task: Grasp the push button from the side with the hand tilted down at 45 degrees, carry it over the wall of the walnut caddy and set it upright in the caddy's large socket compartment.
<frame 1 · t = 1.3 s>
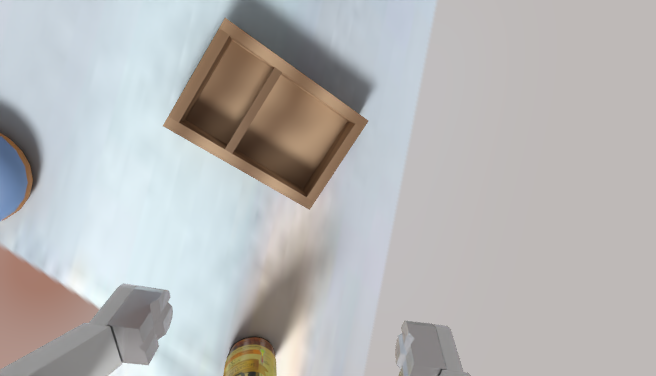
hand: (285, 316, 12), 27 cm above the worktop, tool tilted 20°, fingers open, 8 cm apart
caddy: (270, 119, 36), on the worktop
sauce bottle: (250, 353, 44), on the worktop
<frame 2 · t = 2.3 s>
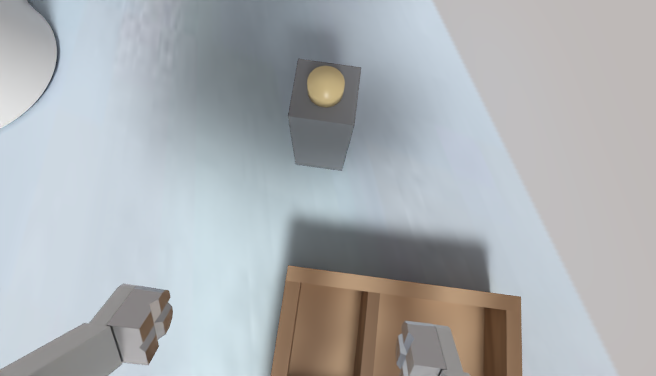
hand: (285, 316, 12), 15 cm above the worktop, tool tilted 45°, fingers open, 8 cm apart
caddy: (385, 355, 25), on the worktop
push button: (321, 145, 29), on the worktop
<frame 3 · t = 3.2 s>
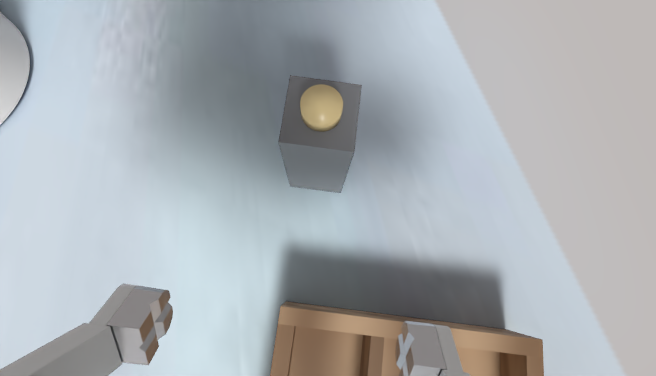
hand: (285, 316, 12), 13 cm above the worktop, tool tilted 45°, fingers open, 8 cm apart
push button: (318, 165, 27), on the worktop
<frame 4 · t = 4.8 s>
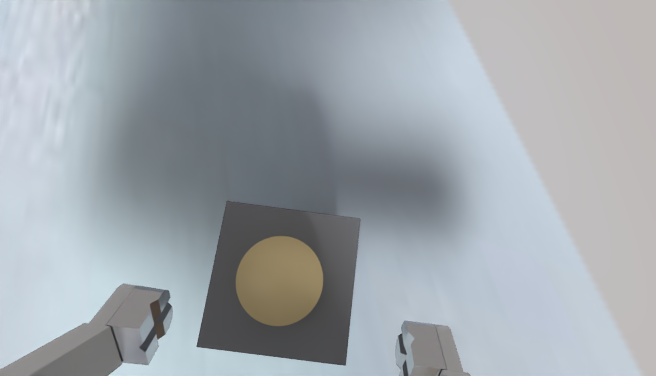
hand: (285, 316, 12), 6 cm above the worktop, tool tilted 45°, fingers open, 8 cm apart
push button: (297, 276, 18), on the worktop
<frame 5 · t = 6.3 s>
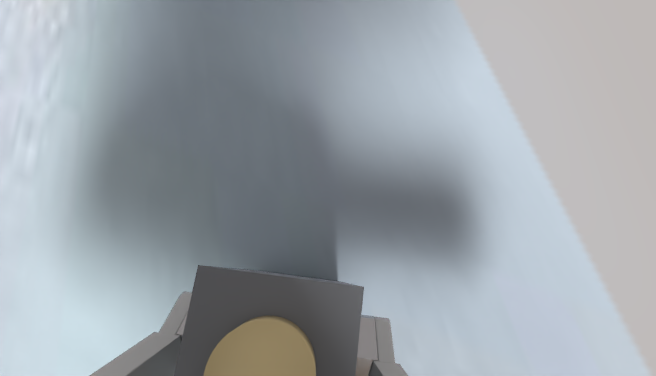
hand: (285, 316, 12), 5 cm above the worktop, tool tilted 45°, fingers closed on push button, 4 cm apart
push button: (292, 318, 16), on the worktop, touching gripper
when the fingers open (7 cm above the worktop, at t = 13.8 s): push button drops 1 cm, resting on caddy.
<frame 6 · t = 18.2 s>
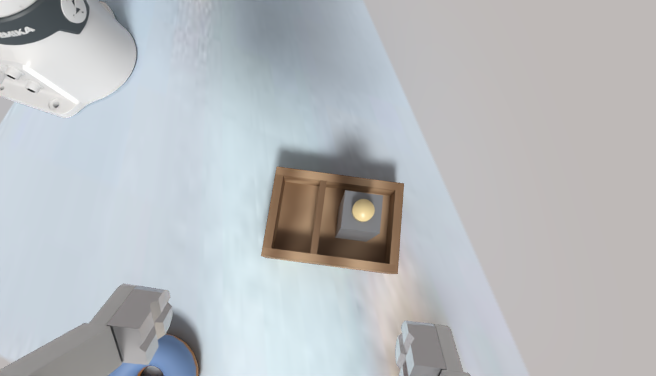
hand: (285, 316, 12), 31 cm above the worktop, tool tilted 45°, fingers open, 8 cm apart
caddy: (333, 223, 44), on the worktop
push button: (352, 224, 43), point 1 cm above the worktop, touching caddy
doughnut: (160, 375, 39), on the worktop
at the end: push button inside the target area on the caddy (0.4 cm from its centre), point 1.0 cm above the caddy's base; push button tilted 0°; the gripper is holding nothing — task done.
